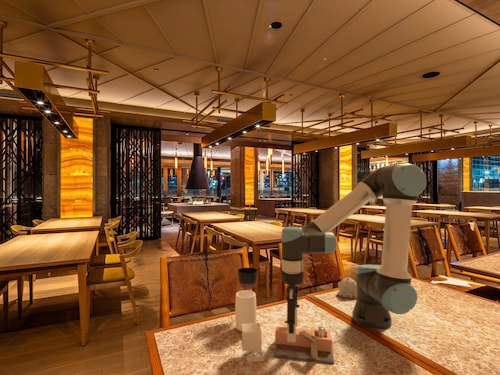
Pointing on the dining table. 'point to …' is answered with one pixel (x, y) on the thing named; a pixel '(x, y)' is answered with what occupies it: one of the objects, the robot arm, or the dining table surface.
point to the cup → (245, 308)
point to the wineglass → (247, 278)
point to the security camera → (252, 341)
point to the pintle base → (305, 350)
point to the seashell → (347, 288)
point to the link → (322, 343)
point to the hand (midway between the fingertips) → (292, 333)
